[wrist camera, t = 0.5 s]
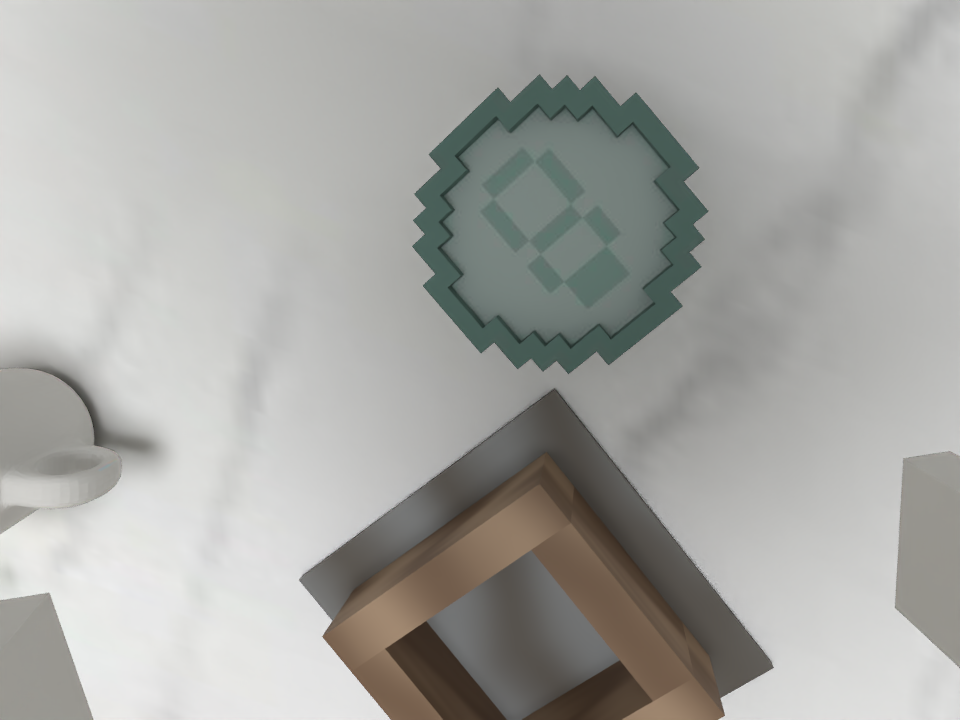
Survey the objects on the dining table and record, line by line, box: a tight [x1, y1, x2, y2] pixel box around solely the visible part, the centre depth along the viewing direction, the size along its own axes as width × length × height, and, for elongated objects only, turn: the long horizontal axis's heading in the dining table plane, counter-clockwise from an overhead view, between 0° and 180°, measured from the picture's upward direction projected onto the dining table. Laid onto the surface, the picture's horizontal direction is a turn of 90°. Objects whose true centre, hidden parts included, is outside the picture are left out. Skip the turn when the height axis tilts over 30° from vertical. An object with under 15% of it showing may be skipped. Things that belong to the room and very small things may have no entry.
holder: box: [299, 389, 774, 720], centre depth 31 cm, size 16×16×4 cm
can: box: [412, 74, 708, 374], centre depth 22 cm, size 6×6×15 cm
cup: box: [0, 368, 122, 534], centre depth 32 cm, size 11×8×8 cm
